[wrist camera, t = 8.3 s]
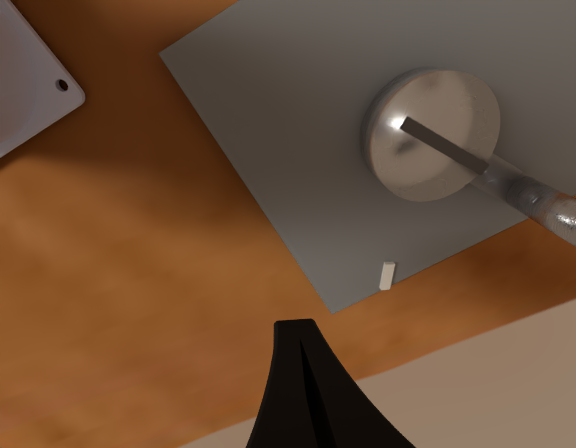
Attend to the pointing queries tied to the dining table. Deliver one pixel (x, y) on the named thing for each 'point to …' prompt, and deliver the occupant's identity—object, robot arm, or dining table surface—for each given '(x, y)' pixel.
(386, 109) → the grey piece
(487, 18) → the grey square mat
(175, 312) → the dining table surface
